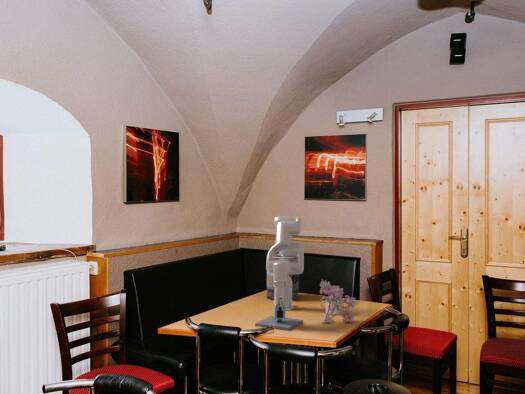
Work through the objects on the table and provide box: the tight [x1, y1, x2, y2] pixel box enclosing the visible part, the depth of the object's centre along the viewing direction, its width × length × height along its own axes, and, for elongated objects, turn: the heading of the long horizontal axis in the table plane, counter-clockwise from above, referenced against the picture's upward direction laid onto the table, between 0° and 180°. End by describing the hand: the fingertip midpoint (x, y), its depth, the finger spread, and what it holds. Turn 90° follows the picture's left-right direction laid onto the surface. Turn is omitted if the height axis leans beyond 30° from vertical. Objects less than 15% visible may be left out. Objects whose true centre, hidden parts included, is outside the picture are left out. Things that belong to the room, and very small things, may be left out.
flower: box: [319, 279, 357, 324], centre depth 290 cm, size 20×22×25 cm
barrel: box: [266, 252, 300, 301], centre depth 358 cm, size 22×22×30 cm
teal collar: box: [273, 304, 286, 319], centre depth 284 cm, size 6×6×7 cm
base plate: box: [254, 315, 304, 332], centre depth 284 cm, size 20×20×2 cm
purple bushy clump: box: [320, 295, 338, 316], centre depth 313 cm, size 12×9×12 cm
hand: (279, 316), depth 284 cm, fingers closed on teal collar, 5 cm apart
